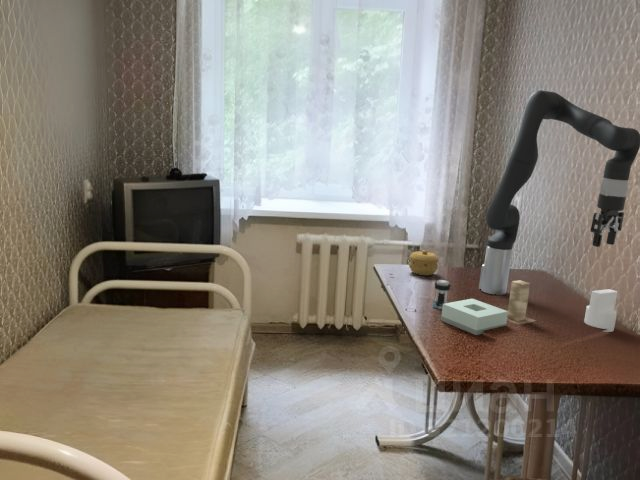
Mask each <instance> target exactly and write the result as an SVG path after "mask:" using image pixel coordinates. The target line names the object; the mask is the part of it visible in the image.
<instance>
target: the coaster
mask: <svg viewBox="0 0 640 480" xmlns="http://www.w3.org/2000/svg"><path fill="white" fill-rule="evenodd" d="M507 321H508V322H510V323H514V324H515V325H519V326H520V325H524V324H529V323H532V322H536V321H537V320H536V319H533V318H531V317H527V316H525V319H524V320H520V321H516V320H513V319H510V318H508V317H507Z"/></svg>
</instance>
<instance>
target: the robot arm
mask: <svg viewBox="0 0 640 480" xmlns="http://www.w3.org/2000/svg"><path fill="white" fill-rule="evenodd" d="M524 107H525V108H524V111H523V115H522V118H521V119H522V120H521V124H520V127H519V131H518V132H517V137H516V139H515V143H514V145H513V148H512V150H511V152H510V155H509V158H508V161H507V163H506V166H505V169H504V172H503V175H502V177H501V179H500V183H499V185H498V188H497V190H496V192H495V194H494V195H493V198H492V200H491V202H490V204H489V206H488V208H487V210H486V215H485V222H486V224H487V226H488V228H489V229H491V230H495V232H494V233H493V234H492V235H491V236H490V237H488V238H487V240H486V248H485V249H486V250H485V257H484V263H483V264H482V265H481V269H480V276H479V283H478V290H480V289H481V290H480V291H482V292H484V293H486V294H491V295H495V294H496V295H495V296H497V295H498V296H502V295H506V294H507V290H508V289H507V288H508V281H509V276H510V268H511V260H512V253H513V247H514V244H515V242H516V240H517V236H518V231H519V225H520V211H519V209H518V208H517V206H516V205H514V204H512V202H513V199H514V198H515V196H516V195H517V193H518V192H519V191H520V190H521V188H523V186H525V184H526V183H528V181H529V179H531V177H532V175H533V173H534V170H535V167H536V166H537V162H538V159H539V149H538V148H539V147H538V133H539V130H540V127H541V124H542V122H543V120H554V121H559V122H562V123H565V124H567V125H569V126H571V127H572V128H573V129H574V130H575V131H576V132H578V133H580V134H581V135H584V136H585V137H588V138H589V139H592V140H593V141H596V142H597V143H599V144H600V145H601V146H603V147H605V148H606V149H608V150H611V151H613V152H614V151H615V154H614V156H613V157H612V158H610V159H608V160H607V161H605V162H606V163H605V166H604V172H603V178H602V180H601V184H600V187H599V193H598V197H597V198H598V199H597V205H596V207H597V208H598V209H600V211H599V212H593V217H592V220H591V226H590V232H591V233H593V238H592V239H593V240H592V246H593V247H596V248H600V247H601V244H602V239H603V234H604V232H605V231H606V230H608V232H607V238H606V244H607V245H611V246H612V245H615V242H616V237H617V234H618V233H619V232H621V231H622V227H623V221H624V216H625V215H624V214H625V212H623V211H624V210H625V204H626V201H627V195H628V190H629V189H628V188H629V181H630V180H629V178H630V173H631V169H632V168H631V167H632V166H633V163H634V161H635V159H636V157H637V155H638V153H639V150H640V132H639V130H637V129H636V128H632V127H622V126H618V125H615V124H613V123H612V121H611V120H609V119H607V118H605V117H603V116H602V115H598V114H595V113H594V112H590V111H588V110H586V109H583V108H581V107H579V106H577V105H575V104H573V103H572V102H570V101H569V100H568V99H566V98H565V97H563V96H562V95H560V94H559V93H557V92H555V91H550V90H535V91H534V92H532V94H531V95H530V96H529V97H528V99H527V102H526V104H525V106H524Z"/></svg>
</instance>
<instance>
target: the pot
mask: <svg viewBox="0 0 640 480" xmlns="http://www.w3.org/2000/svg"><path fill="white" fill-rule="evenodd" d="M409 259H410V261H409V262H408V266H409V269H410V271H411V272H412V273H413V274H415V273H416V274H415V275H418V274H419V276H431V275H433V274H435V272H437V270H438V268H439V266H438V264H437V263H438V262H439V257H438V256H437V255H436V254H435V253H433V252H429V251H428V250H426V249H423V250H419V251H413V252H412V253H411V254H410V255H409Z"/></svg>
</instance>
